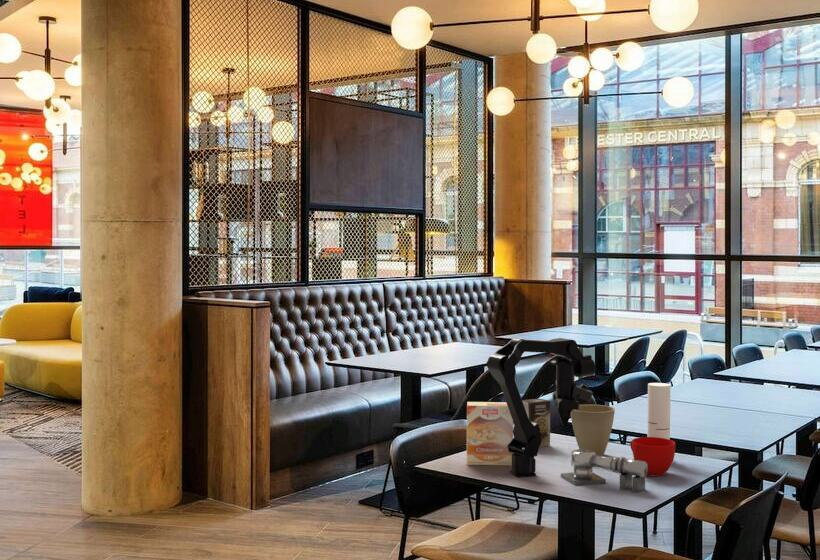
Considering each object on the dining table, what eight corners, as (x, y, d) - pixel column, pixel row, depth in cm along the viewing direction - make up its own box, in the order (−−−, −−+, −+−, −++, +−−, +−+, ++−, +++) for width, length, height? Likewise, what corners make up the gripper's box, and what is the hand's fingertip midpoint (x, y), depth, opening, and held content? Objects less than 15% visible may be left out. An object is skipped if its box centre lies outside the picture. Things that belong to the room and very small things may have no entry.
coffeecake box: (466, 465, 284) (466, 405, 283) (466, 459, 291) (466, 401, 290) (513, 465, 283) (513, 405, 282) (512, 460, 290) (512, 401, 289)
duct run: (616, 488, 256) (616, 458, 256) (623, 485, 260) (624, 455, 260) (640, 493, 251) (640, 462, 251) (647, 489, 255) (648, 459, 255)
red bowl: (647, 463, 285) (647, 433, 285) (684, 476, 270) (684, 443, 270) (615, 468, 280) (615, 436, 279) (650, 480, 265) (651, 447, 264)
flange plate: (575, 485, 260) (575, 471, 260) (560, 476, 269) (560, 463, 269) (605, 482, 262) (606, 469, 262) (590, 474, 272) (590, 461, 272)
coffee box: (530, 448, 306) (530, 402, 306) (519, 445, 312) (519, 399, 311) (550, 445, 311) (551, 400, 310) (539, 442, 316) (539, 397, 316)
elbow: (566, 466, 265) (566, 451, 265) (579, 461, 271) (579, 447, 271) (611, 475, 255) (611, 459, 255) (623, 470, 261) (623, 455, 260)
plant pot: (612, 450, 304) (613, 404, 303) (616, 461, 289) (616, 412, 288) (568, 449, 306) (569, 403, 305) (570, 459, 291) (570, 411, 290)
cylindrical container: (652, 456, 295) (653, 382, 294) (673, 459, 291) (673, 384, 290) (643, 460, 290) (644, 384, 289) (664, 463, 285) (665, 386, 284)
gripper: (595, 382, 270) (595, 433, 270) (586, 373, 288) (586, 421, 289) (559, 382, 270) (558, 433, 271) (552, 373, 289) (552, 420, 290)
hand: (565, 426), depth 280 cm, fingers closed
